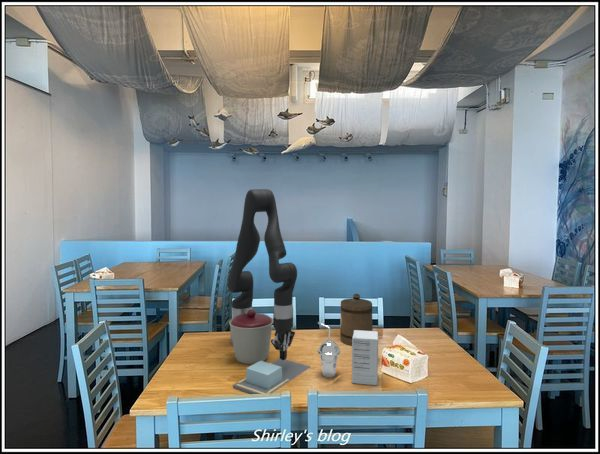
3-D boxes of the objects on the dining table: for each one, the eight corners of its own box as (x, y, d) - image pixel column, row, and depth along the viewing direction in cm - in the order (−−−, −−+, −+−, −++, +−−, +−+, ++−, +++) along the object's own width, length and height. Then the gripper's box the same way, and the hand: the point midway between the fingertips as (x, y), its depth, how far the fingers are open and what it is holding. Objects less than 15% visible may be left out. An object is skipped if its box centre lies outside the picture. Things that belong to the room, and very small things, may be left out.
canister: (227, 354, 170) (226, 306, 169) (268, 349, 176) (268, 302, 174) (233, 372, 153) (232, 318, 152) (278, 366, 159) (278, 314, 157)
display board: (232, 387, 141) (232, 384, 141) (280, 360, 164) (280, 357, 164) (266, 399, 133) (266, 395, 132) (311, 369, 156) (311, 365, 156)
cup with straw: (324, 384, 143) (324, 329, 142) (313, 373, 152) (313, 322, 150) (344, 379, 147) (344, 326, 145) (332, 370, 155) (333, 319, 153)
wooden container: (354, 332, 197) (354, 288, 195) (378, 340, 186) (379, 294, 184) (333, 340, 187) (333, 293, 185) (358, 348, 176) (358, 300, 174)
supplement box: (377, 386, 142) (378, 339, 141) (351, 383, 144) (351, 338, 142) (377, 374, 151) (378, 330, 150) (353, 372, 153) (353, 329, 152)
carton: (246, 381, 143) (246, 368, 143) (260, 373, 150) (260, 360, 149) (268, 389, 138) (267, 375, 137) (282, 380, 144) (281, 366, 144)
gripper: (285, 309, 159) (285, 351, 161) (264, 317, 148) (264, 362, 150) (301, 312, 155) (300, 355, 157) (280, 321, 144) (280, 367, 146)
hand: (283, 359), depth 153 cm, fingers closed
